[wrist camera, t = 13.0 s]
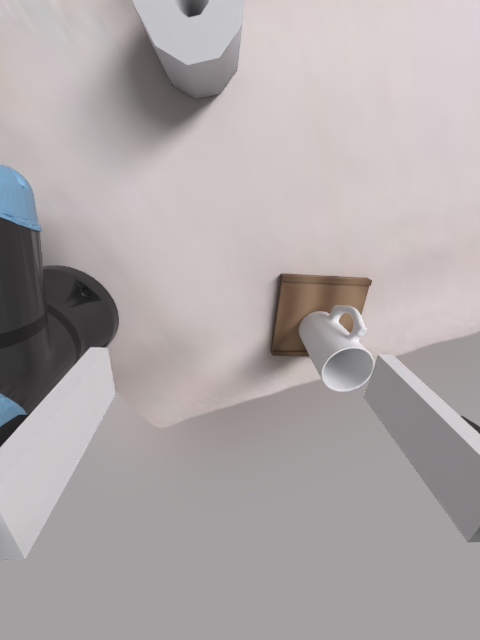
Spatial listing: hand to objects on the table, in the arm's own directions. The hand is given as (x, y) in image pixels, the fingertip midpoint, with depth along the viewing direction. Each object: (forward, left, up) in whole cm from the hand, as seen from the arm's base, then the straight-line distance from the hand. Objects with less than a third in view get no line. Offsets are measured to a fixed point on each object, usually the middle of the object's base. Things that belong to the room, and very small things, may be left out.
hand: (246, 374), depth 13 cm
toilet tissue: (-5, +25, -29) cm, 38 cm away
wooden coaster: (+15, -9, -29) cm, 34 cm away
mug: (+15, -9, -28) cm, 33 cm away
